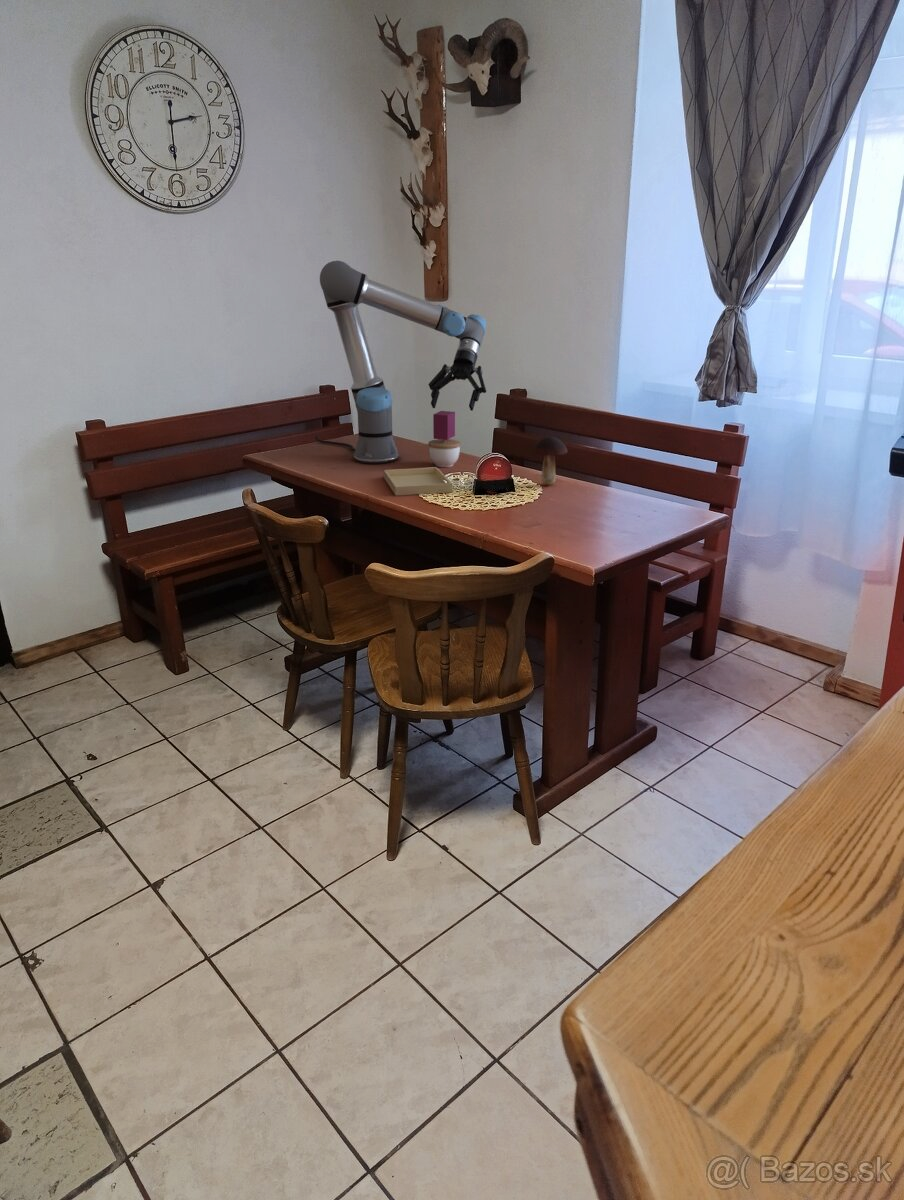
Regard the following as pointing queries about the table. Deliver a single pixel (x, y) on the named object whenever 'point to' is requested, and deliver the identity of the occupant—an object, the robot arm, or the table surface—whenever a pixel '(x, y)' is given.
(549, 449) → the decorative mushroom
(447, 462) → the trinket box
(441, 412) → the mulberry block
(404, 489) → the tray
